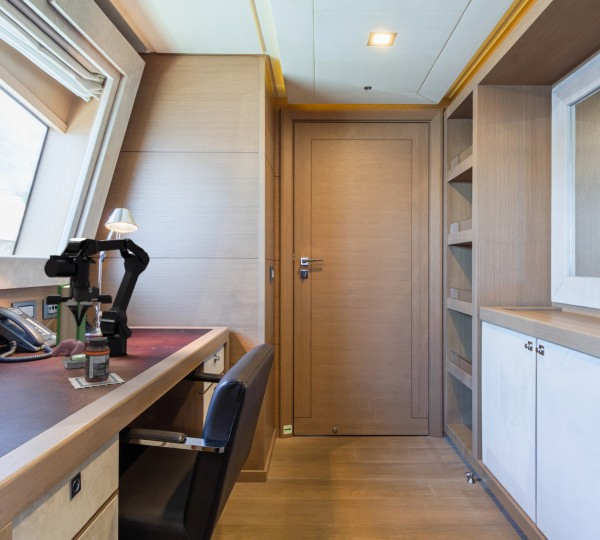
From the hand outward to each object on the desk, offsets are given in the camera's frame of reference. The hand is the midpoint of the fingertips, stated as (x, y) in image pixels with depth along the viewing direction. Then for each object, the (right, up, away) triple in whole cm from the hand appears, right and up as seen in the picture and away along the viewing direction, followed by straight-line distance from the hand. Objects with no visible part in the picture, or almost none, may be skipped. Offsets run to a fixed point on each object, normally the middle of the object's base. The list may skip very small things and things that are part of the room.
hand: (78, 326), depth 133 cm
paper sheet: (+15, -12, -19) cm, 27 cm away
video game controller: (-9, -12, +11) cm, 18 cm away
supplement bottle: (+15, -12, -19) cm, 27 cm away
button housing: (+1, -12, -1) cm, 12 cm away
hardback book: (-17, -12, +27) cm, 34 cm away
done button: (+1, -12, -1) cm, 12 cm away
